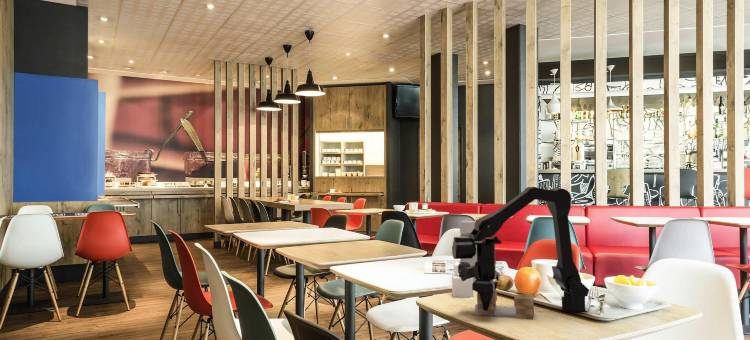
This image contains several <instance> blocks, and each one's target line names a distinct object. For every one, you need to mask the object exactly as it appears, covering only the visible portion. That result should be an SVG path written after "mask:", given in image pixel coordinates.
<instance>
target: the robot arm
mask: <svg viewBox="0 0 750 340" xmlns="http://www.w3.org/2000/svg"><path fill="white" fill-rule="evenodd" d="M536 200H539V201H544V202H546V205H547V209H548V211H549V213H550V214H551V217H552V224H553V231H554V239H555V246H556V256H557V262H556V265H552V266H551V269H552V279H553V280H554V281H555V283H556V284H557V285H558V286H559V287H560V290H561V291H562V292H563V296H561V311H562V312H568V313H571V314H572V313H573V314H580V313H581V312H585V313H586V297H588V295H589V292H590V289H589V288H588V287H587V286H586V285H585V284H584V283H582V279H581V275H580V272H579V270H578V268H577V266H576V263H575V261H574V256H573V247H572V246H573V245H572V240H571V231H570V230H571V229H570V222H569V216H570V215H569V214H570V211H571V209H572V195H571V193H570V191H569V190H567V189H565V188H555V187H552V188H550V189H546V188H540V187H536V186H527V187H526V188H525V189H524V190H522V192H520V193H518V194H517V195H516V196H515V197H513V198H512V199H511V200H509V201H508V202H507V203H505V204H504V205H502V206H501V207H500V208H498V209H497V210H495V211H493V212H490V213H487V214H485V215H483V216H482V217H479V218H477V219H476V220H475V221H476V222H475V226H474V227H475V228H474V229H473V231H472V232H471V233H470V235H469V236H468V237H460V236H454V237H453V241H452V246H451V252H452V253H451V254H452V258H453V259H454V260H460V259H472V258H473V256H475V255H476V244H477V261H476V263H475V265H474V266H470V267H465V268H461V270H460V271H459V277H460V278H461V280H462V281H465V280H466V279H470V278H473V277H475V279H476V280H475V281H474V282H473V284H472V290H473V292H476V293H479V295H480V298H481V301H482V305H483V309H484V310H485V311H487V310H488V308H489V305H490V302H491V299H492V296H493V293H494V291H495V290H496V289H497V287H498V285H499V281H500V272H498V271H497V270H496V269H497V268H496V266H497V260H496V245H500V244H501V245H502V244H503V242H502V241H501V240H500V239H499V238H498V236H497V235H496V234H497V233H498V232H499V231H500V229H502V227H503V225H504V224H505V223H506V222H507V221H508V220H510V219H511V218H512V217H514V216H515V215H516V214H518V213H519V212H520V211H521V210H523V209H525V207H527V206H528V205H530V204H531V203H533V202H534V201H536ZM474 241H477V242H474ZM494 280H496V281H494ZM496 291H497V290H496ZM581 314H582V313H581Z"/></svg>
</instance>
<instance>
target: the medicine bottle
mask: <svg viewBox="0 0 750 340" xmlns="http://www.w3.org/2000/svg"><path fill="white" fill-rule="evenodd" d="M465 267H470V264H469V263H467V262H460V261H456V262H455V263H453V273H452V274H451V275H452V276H451V288H452V289H451V291H452V293H451V294H452V296H453V298H473V297H474V290H472V284H473V278H470V279H466V280H465V281H462V280H461V278H460V277H459V271H460V270H461V268H465Z"/></svg>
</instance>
